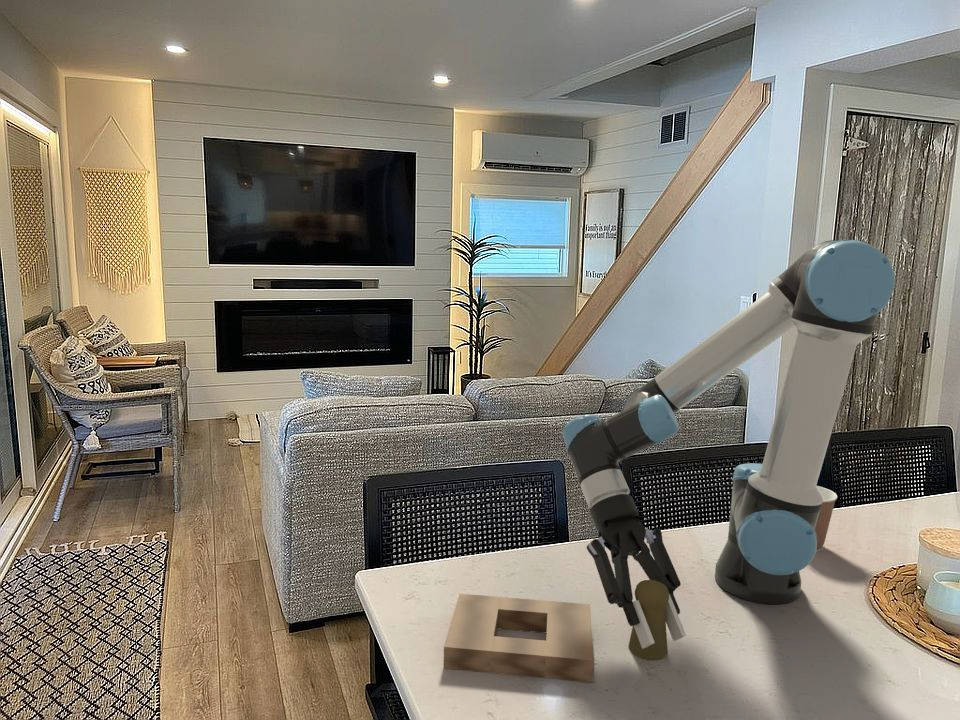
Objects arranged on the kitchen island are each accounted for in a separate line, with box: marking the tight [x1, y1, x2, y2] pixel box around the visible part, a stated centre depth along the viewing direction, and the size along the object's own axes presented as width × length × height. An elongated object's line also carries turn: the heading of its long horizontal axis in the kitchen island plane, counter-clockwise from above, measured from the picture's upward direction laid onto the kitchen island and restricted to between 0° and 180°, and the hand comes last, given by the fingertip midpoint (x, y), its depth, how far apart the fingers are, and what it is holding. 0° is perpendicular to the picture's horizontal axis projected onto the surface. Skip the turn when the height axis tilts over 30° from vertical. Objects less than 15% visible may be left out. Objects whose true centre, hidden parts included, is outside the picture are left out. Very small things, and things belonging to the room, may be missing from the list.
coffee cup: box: [815, 485, 838, 553], centre depth 151 cm, size 10×10×12 cm
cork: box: [628, 579, 669, 661], centre depth 111 cm, size 6×6×11 cm
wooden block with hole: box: [443, 593, 595, 683], centre depth 112 cm, size 22×16×4 cm
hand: (664, 641), depth 108 cm, fingers closed on cork, 5 cm apart
